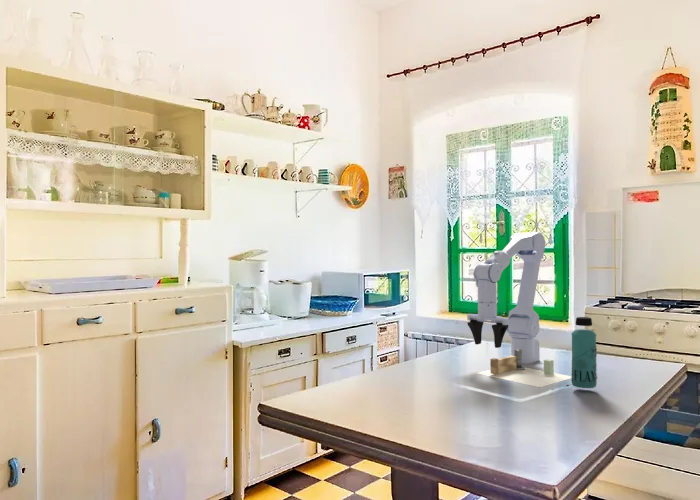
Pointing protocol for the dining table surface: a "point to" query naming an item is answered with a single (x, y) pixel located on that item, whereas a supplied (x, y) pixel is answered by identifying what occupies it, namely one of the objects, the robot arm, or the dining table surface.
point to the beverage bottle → (584, 355)
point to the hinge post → (518, 359)
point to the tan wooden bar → (502, 364)
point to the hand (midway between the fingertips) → (487, 345)
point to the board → (528, 377)
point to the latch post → (549, 366)
